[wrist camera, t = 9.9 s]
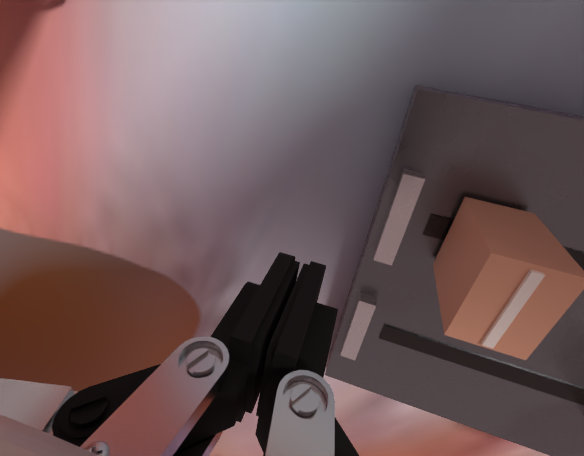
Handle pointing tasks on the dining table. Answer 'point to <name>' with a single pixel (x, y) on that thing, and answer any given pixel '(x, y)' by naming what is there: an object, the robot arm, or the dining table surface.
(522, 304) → the fader terracotta
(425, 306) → the console
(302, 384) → the robot arm
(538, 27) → the dining table surface
